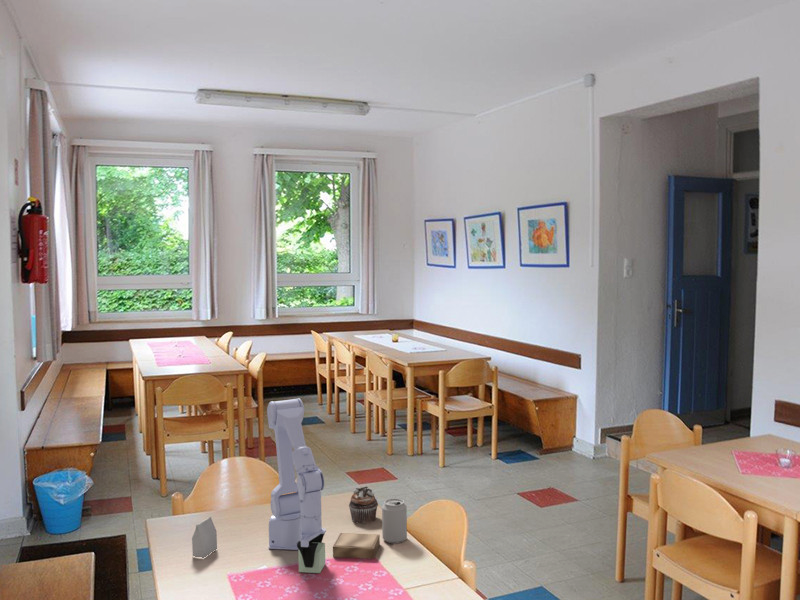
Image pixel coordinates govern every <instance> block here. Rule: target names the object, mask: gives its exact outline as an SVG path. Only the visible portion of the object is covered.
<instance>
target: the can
mask: <svg viewBox="0 0 800 600" xmlns="http://www.w3.org/2000/svg"><path fill="white" fill-rule="evenodd" d="M383 503H384V504H382V506H381V518H382V519H381V524H382V526H381V527H382V528H381V530H382V535H381V536H382V539H383V540H384V541H385V542H386V543H388V544H400V543H402V542H403V543H404V541H405V540H406V539H408V527H407V526H408V519H407V518H408V517H407V516H408V515H407V504H405V500H404V499H401V498H387V499H385V500H384V501H383Z"/></svg>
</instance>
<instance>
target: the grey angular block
mask: <svg viewBox="0 0 800 600" xmlns="http://www.w3.org/2000/svg"><path fill="white" fill-rule="evenodd" d="M217 540H218V535H217V529H216V527H215V524H214V522H213V518H212V516H208V517H207V518H206V519H204V520H202V521H201V522H199V523H197V524H196V525H195V530H194V531H193V534H192V537H191V545H192V548H191V549H192V557H193V556H195V557H202V558H204V557H206V556H207V555H209V554H210V553H211V552H213V551H214V550H216V549H217V550H218V541H217ZM209 556H210V555H209Z"/></svg>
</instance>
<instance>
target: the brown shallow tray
mask: <svg viewBox="0 0 800 600" xmlns="http://www.w3.org/2000/svg"><path fill="white" fill-rule="evenodd" d="M380 537H381V536H380V534H374V533H373V534H371V533H369V534H368V533H347V532H340V533H339V535H338V536H337V539H336V540H335V542H334V544H333V546H332V557H333V558H350V559H369V560H370V559H373V560H374V559H375V557H376V554H377V552H378V549H379V547H380V544H381V543H380V542H381V540H380Z"/></svg>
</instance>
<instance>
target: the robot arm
mask: <svg viewBox="0 0 800 600" xmlns="http://www.w3.org/2000/svg"><path fill="white" fill-rule="evenodd" d="M266 414H267V423H268V428H269V429H270V430H271V429H272V430H274V437H275V438H274V439H275V447H276V461H277V470H278V471H277V472H278V482H279V483H278V484H277V486H275V487H274V488H273V489H272V491H271V492H270V511H271V514H272V515H271V516H270V518H269V521H268V549H269V550H270V549H271V550H286V551H287V550H289V551H291V550H292V551H300V552H301V555H302V558H303V562H304V565H305V567H308V568H312V567H313V564H314V556H315V551H316V548H317V545H318V543H323V540H324V536H325V534H326V532H327V528H323V526H322V524H323V523H322V492H321V491H323V490H324V488H325V478H324V473H323V471H322V470H321V469H320V466H318V465H317V463H316V461H315V458H314V454H313V450H312V448H311V447H309V446H307V444H306V440H305V439H306V438H305V435H304V434H305V433H304V431H303V426H302V422H303V420H304V414H305V406H304V403H303V401H302V399H301V398H299V397H297V398H293V399H286V400H285V399H284V400H276V401H273V400H272V401H270V402H269V403H268V404H267V408H266ZM295 472H296V473H295ZM295 474H296V475H295ZM296 476H297V477H296ZM312 542H317V543H312Z"/></svg>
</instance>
